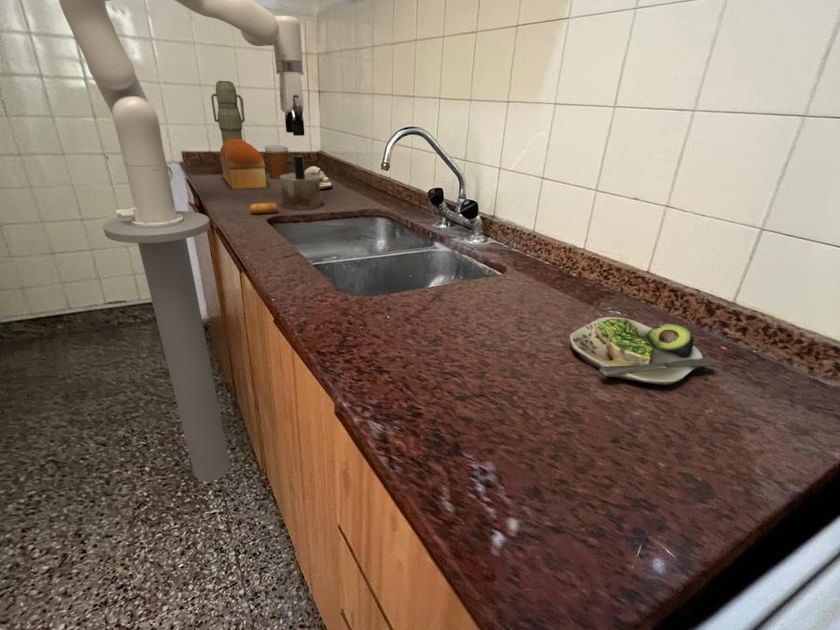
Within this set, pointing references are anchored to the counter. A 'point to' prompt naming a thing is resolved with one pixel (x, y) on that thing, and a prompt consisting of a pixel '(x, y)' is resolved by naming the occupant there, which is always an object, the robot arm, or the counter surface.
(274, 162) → the disposable coffee cup
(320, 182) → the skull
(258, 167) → the bread
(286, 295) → the counter surface
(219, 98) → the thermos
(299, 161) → the lid
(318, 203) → the pot
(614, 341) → the avocado toast plate
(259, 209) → the eggroll
